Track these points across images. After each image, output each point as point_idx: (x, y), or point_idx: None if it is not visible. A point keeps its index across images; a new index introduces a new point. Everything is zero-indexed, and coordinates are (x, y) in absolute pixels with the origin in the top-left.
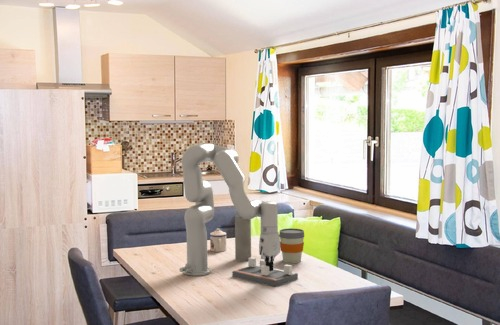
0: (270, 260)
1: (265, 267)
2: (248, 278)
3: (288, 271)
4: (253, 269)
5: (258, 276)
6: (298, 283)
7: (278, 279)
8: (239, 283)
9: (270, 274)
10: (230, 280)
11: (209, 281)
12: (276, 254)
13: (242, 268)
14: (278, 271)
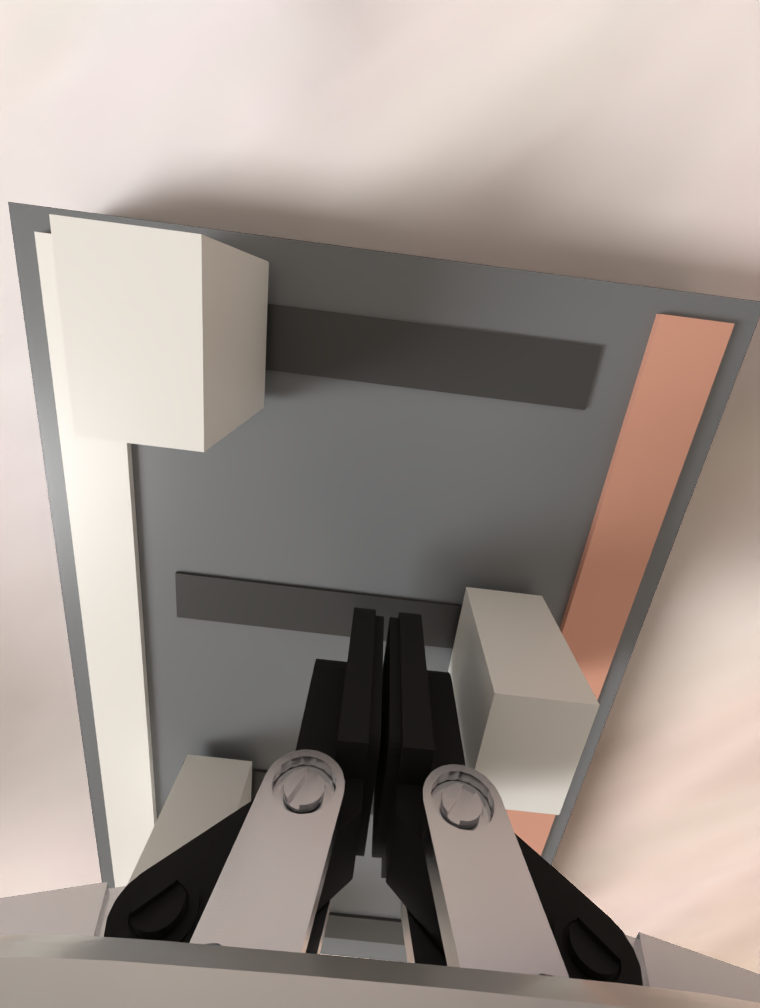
0: (433, 814)
1: (587, 715)
2: None
3: (249, 282)
4: None
5: (606, 673)
6: (310, 25)
7: (628, 308)
8: (702, 757)
9: (396, 594)
10: (627, 863)
11: (734, 962)
12: (163, 941)
13: (346, 952)
14: (178, 576)
